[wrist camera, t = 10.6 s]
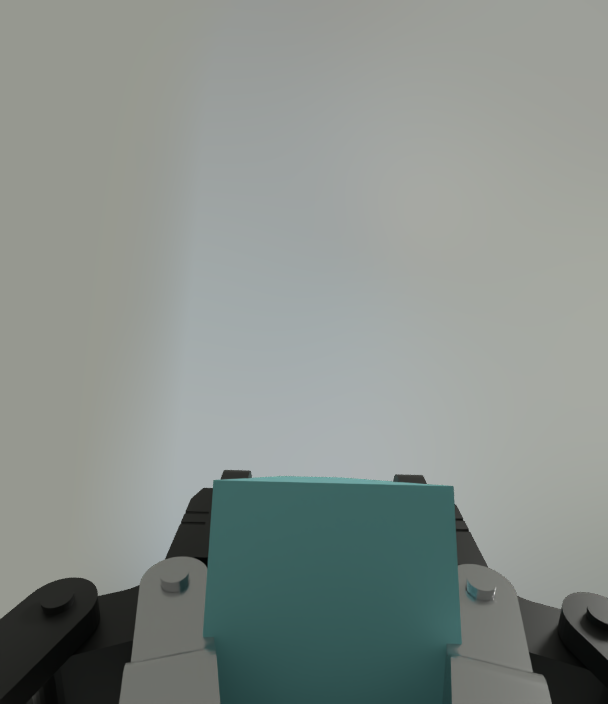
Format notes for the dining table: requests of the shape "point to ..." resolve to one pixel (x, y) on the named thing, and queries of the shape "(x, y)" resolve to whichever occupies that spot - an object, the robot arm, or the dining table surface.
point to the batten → (331, 590)
